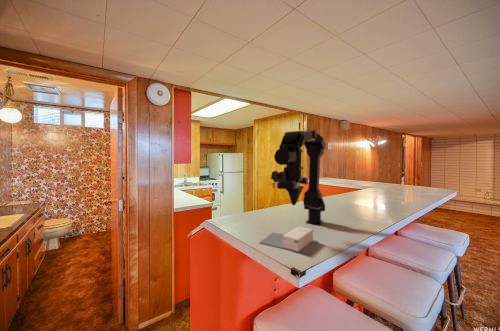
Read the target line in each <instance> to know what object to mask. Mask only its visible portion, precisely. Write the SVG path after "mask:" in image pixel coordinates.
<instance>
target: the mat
mask: <svg viewBox="0 0 500 331" xmlns="http://www.w3.org/2000/svg"><path fill="white" fill-rule="evenodd" d="M283 235H284V233H283V234H282V233H278V232H272V233H270V234H268V236H267V235H266V237H265V238H263V239H261V241H258V244H260V245H265V246H270V247H273V248H278V249H282V250H285V251H286V250H287V251H290V252H294V253H300V254H304V255H308V256H310V255H311V253H312V252H313V250H314V249H315V247H316V246H317V244H318V243H319V241H318V240H314V239H313V241H311V242H310V243H309V244H308V245H306V246H305V247H304V248H302V249H301V250H300V251H295V250H291V249H288V248H285V247H283Z"/></svg>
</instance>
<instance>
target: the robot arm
mask: <svg viewBox="0 0 500 331" xmlns="http://www.w3.org/2000/svg"><path fill="white" fill-rule="evenodd" d="M303 146H304V147H305V149H306V153H307V156H308V157H309V171H308V175H309V176H308V178H307V177H306V176H304V177H303V176H302V170H304V167H303V166H302V163H303V162H302V153H303V149H302V148H303ZM325 149H326V142H325V140H324V137H323V136H321V135H320V134H319V133H318V131H317V130H316V129H307V130H304V131H302V130H296V131H295V130H293V131H286V132H284V135H283V137H282V139H281V141H280V144H279V148H278V149H277V150H276V151H275V152H274V156H273V157H274V161H275V162H276V163H277V164H278V165H281V166H283V165H285V166H284V167H283V171H277V170H274V171H271V175H270V176H271V177H270V179H271V180H273V183H276V187H277V188H276V189H279V190H280V189H282V190H286V191H287V193H288V195H289V199H290V202H291V205H292V206H295V205H296V204H297V202H298V199H299V198H300V196H301V193H302V191H303V189H304V187H305V186H303V184H304V185H308V189H307V190H306V191H304V194H303V195H304V197H303V201H302V202H303V207H304V209H303V210H308V214H307V216H308V218H307V220H306V221H305V222H306V223H307V224H312V225H318V226H319V225H322V223H323V222H324V220H323V219H321V218H322V212H326V204H325V201H324V198H323V194H322V192H321V190H320V173H321V172H320V168H321V167H320V166H321V158H322V156H323V155H324V153H325ZM301 184H302V185H301Z"/></svg>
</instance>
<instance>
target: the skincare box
mask: <svg viewBox="0 0 500 331" xmlns="http://www.w3.org/2000/svg"><path fill="white" fill-rule="evenodd" d="M283 234H284V233H283ZM313 240H314V230H313V229H312V228H307V227H302V226H297V227H295V228H293V229H292V230H290V231H289V232H286V233H285V234H284V235H283V247H285V248H288V249H291V250H295V251H300V250H301V249H302V248H304V247H305V246H306V245H308V244H309V243H310V242H311V241H313Z"/></svg>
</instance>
